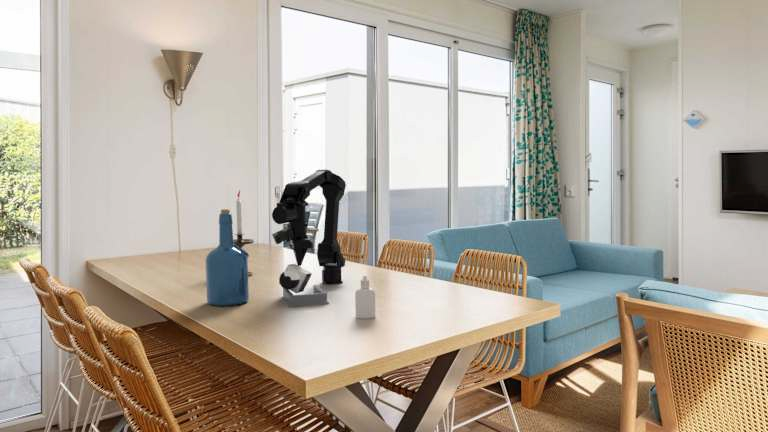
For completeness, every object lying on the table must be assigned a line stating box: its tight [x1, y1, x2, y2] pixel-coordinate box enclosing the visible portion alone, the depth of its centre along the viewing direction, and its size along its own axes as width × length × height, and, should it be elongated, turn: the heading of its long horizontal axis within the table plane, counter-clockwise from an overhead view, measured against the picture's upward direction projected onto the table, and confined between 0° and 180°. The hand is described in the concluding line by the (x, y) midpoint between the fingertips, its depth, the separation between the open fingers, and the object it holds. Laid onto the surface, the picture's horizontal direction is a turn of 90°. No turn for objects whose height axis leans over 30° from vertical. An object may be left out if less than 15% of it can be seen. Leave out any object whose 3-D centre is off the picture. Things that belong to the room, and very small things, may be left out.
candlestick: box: [233, 189, 254, 278], centre depth 226 cm, size 11×11×35 cm
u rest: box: [281, 284, 330, 308], centre depth 179 cm, size 14×13×3 cm
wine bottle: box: [205, 208, 250, 307], centre depth 178 cm, size 14×13×30 cm
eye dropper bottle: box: [354, 274, 376, 320], centre depth 157 cm, size 4×6×12 cm
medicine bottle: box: [278, 263, 313, 294], centre depth 183 cm, size 7×7×12 cm
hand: (299, 265), depth 190 cm, fingers closed, pressing on medicine bottle
